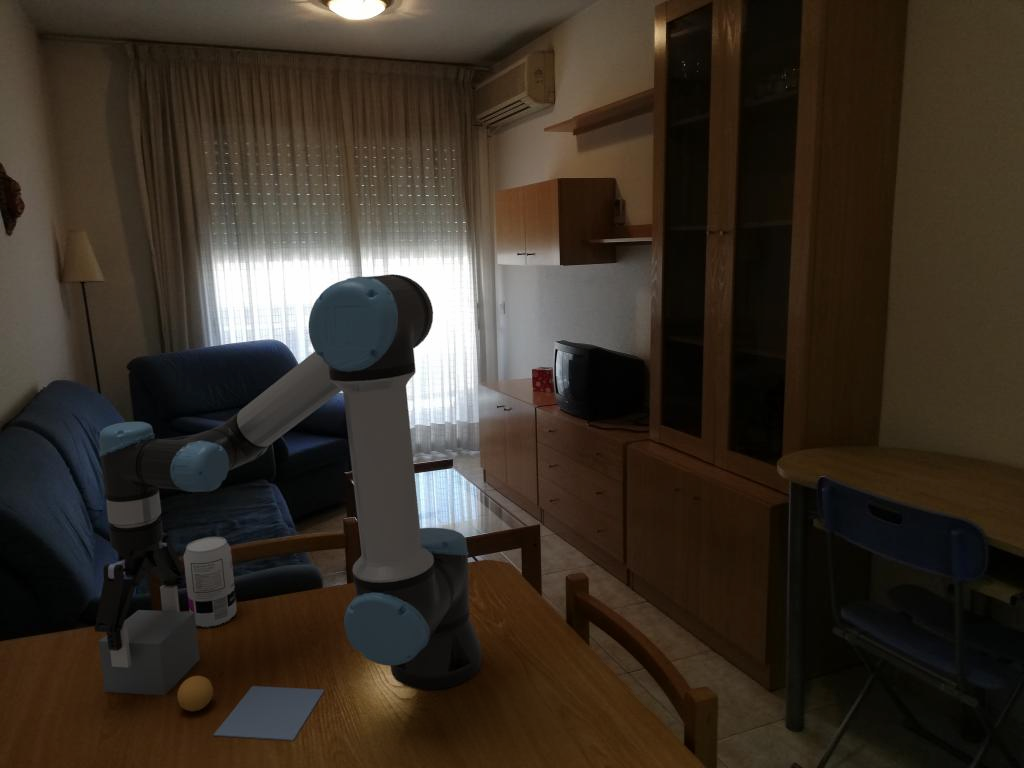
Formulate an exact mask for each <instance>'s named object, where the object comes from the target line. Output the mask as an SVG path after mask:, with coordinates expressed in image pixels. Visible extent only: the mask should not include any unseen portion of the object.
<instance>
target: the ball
mask: <svg viewBox="0 0 1024 768" xmlns="http://www.w3.org/2000/svg"><path fill="white" fill-rule="evenodd" d="M213 694H214V687H213V684H212V682H211V680H210V679H208V677H206V676H203V675H193V676H190V677H188V678H187V679H185V680H184V681H183V682H182V683H181V684H180V686H179V688H178V690H177V697H176V698H177V701H178V704H179V706H180V707H181V708H182V709H184V710H185V711H188V712H197V711H201V710H203V709H204V708H205V707H207V706H208V704H210V701H211V700H212V698H213Z"/></svg>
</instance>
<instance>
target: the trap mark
mask: <svg viewBox="0 0 1024 768" xmlns="http://www.w3.org/2000/svg"><path fill="white" fill-rule="evenodd" d="M325 690H326V689H318V688H317V689H316V688H314V689H312V688H297V687H279V686H278V687H276V686H259V685H252V686H251V687H250V688H249V690H248V691H246V693H245V695H244V696H243V697H242V699H240V700H239V702H238V704H237V705H236V706H235V707H234V708H233V710H232V711H231V712H230V713H229V715H228V716H227V717H226V719H225V720H224V721H223V722H222V724H221V725H220V726H219V727H218V728H217V730H216V731H215V732H214V733H213V737H223V738H224V737H225V738H239V739H240V738H241V739H256V740H257V739H258V740H270V741H271V740H272V741H273V740H274V741H286V742H287V741H288V742H294V741H295V739H296V737H297V736H298V735H299V733H300V731H301V730H302V728H303V727H304V725H305V724H306V721H307V719H308V718H309V717H310V715H311V714H312V712H313V710H314V709H315V707H316V705H317V704H318V702H319V701H320V699H321V697H322V696H323V694H324V693H325Z"/></svg>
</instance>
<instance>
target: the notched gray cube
mask: <svg viewBox="0 0 1024 768" xmlns="http://www.w3.org/2000/svg"><path fill="white" fill-rule="evenodd" d="M123 626H127V631H128V640H129V649H130V658H131V666H130V667H128V668H126V667H112V662H111V653H110V650H109V648H108V640H107V634H106V635H105V636H103V637H102V638H100V639H99V640H98V646H99V647H98V648H99V655H100V662H101V670H102V679H103V686H104V692H105V693H115V694H116V693H117V694H118V693H119V694H135V695H151V696H152V695H153V696H166V695H167V694H168V693H169V692H170V691H171V690H172V689H173V688H174V687H175V686H176V685H177V684H178V683H179V682H180V681H181V680H182V679H183V678H184V677H185V676H186V675H187V673H188V672H190V671H191V669H192V668H193V667H194V666H196V664H197V663H198V662H199V661H200V659H201V658H200V650H199V641H198V632H197V625H196V620H195V612H189V611H180V612H178V611H162V610H149V609H147V610H146V609H138V610H136V611H135V612H134V613H133V614H132V615H130V616H129V617H128V618H125V621H124V624H123Z"/></svg>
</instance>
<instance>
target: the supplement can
mask: <svg viewBox="0 0 1024 768" xmlns="http://www.w3.org/2000/svg"><path fill="white" fill-rule="evenodd" d="M183 563H184V565H183V567H184V570H185V575H184V576H185V584H186V593H187V601H188V608H189V609H188V610H189V611H188V612H195V620H196V627H199V626H201V627H200V628H213V627H212V626H214V627H218V626H221V625H223V624H222V623H224V624H226V623H227V621H228V622H229V621H231V620H232V619H233V618H234V616H235V615H236V614H237V611H238V607H237V597H236V596H237V595H236V587H235V578H234V567H233V557H232V547H231V546H230V545H229V543H228V541H227V540H226V538H224V537H222V536H221V537H220V536H207V537H203V538H199V539H195V540H193V541H191V542H188V544H186V547H185V551H184V554H183ZM232 617H233V618H232ZM231 618H232V619H231ZM230 619H231V620H230ZM225 622H226V623H225ZM220 624H221V625H220ZM217 625H218V626H217ZM210 626H211V627H210Z"/></svg>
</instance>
